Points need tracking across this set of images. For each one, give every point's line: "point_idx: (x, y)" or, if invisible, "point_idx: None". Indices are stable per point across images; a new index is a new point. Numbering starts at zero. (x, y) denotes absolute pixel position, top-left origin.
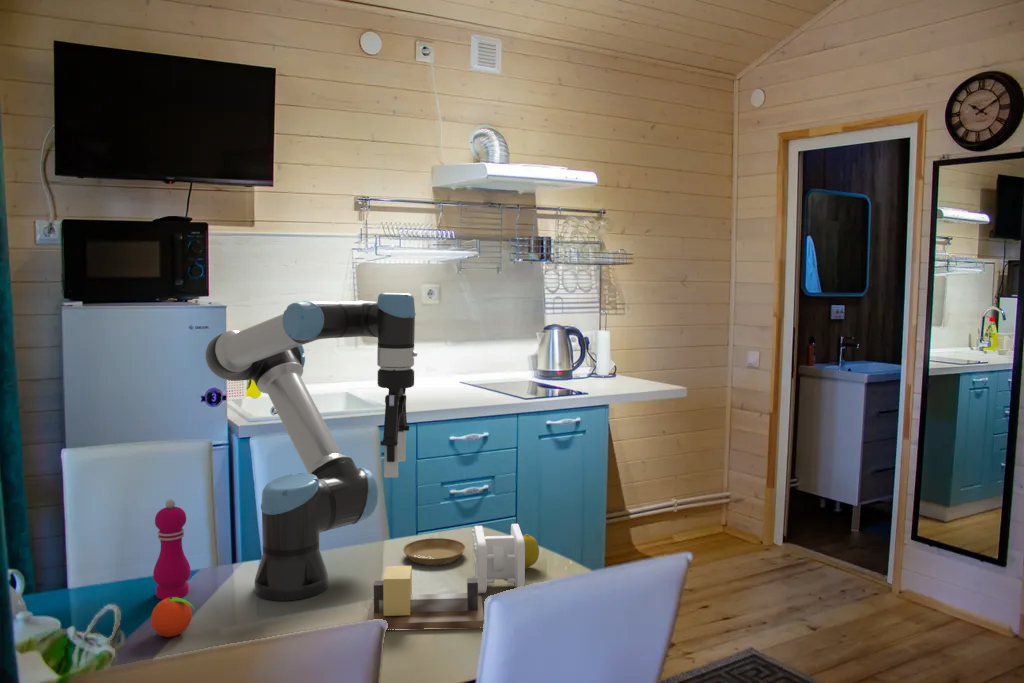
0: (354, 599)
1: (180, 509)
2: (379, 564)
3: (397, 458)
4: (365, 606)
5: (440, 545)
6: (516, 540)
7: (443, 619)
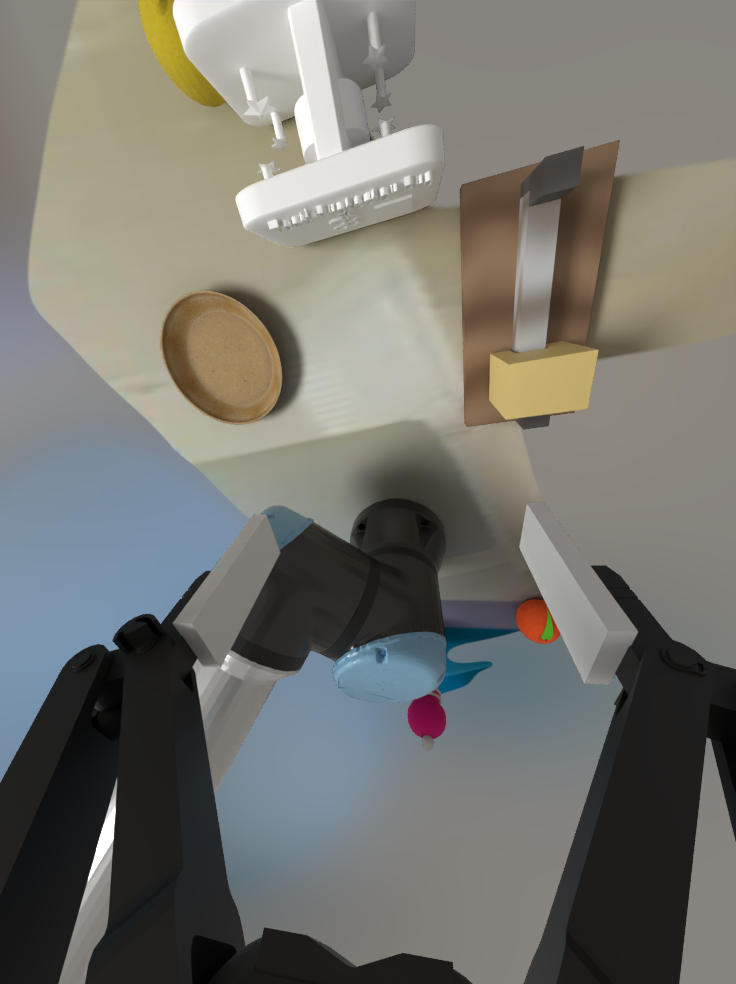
0: (437, 454)
1: (425, 726)
2: (291, 449)
3: (588, 564)
4: (465, 432)
5: (180, 359)
6: None
7: (587, 262)
